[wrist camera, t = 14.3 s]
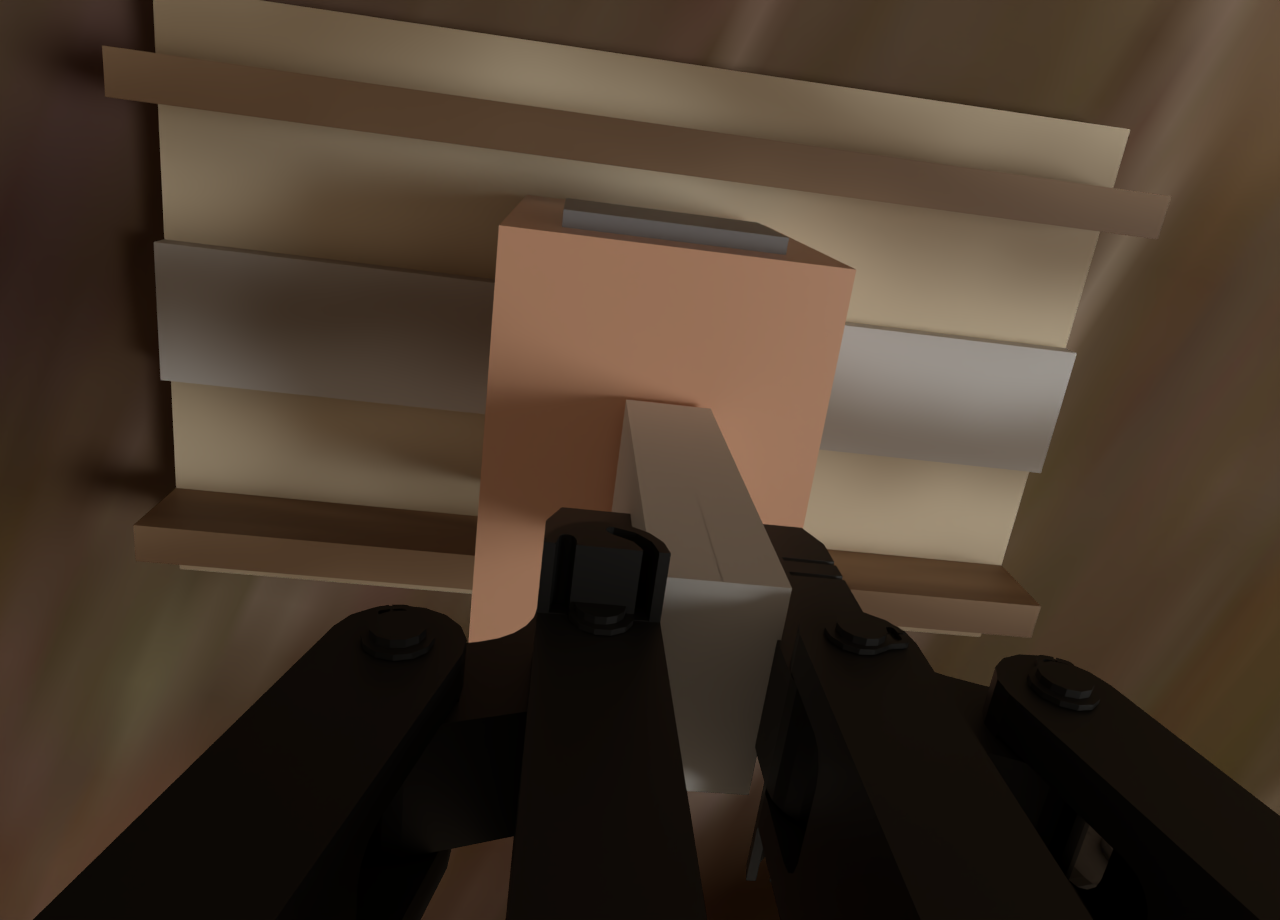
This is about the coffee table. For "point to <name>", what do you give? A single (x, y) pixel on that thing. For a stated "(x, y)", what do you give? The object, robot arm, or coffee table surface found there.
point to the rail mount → (601, 172)
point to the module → (642, 367)
